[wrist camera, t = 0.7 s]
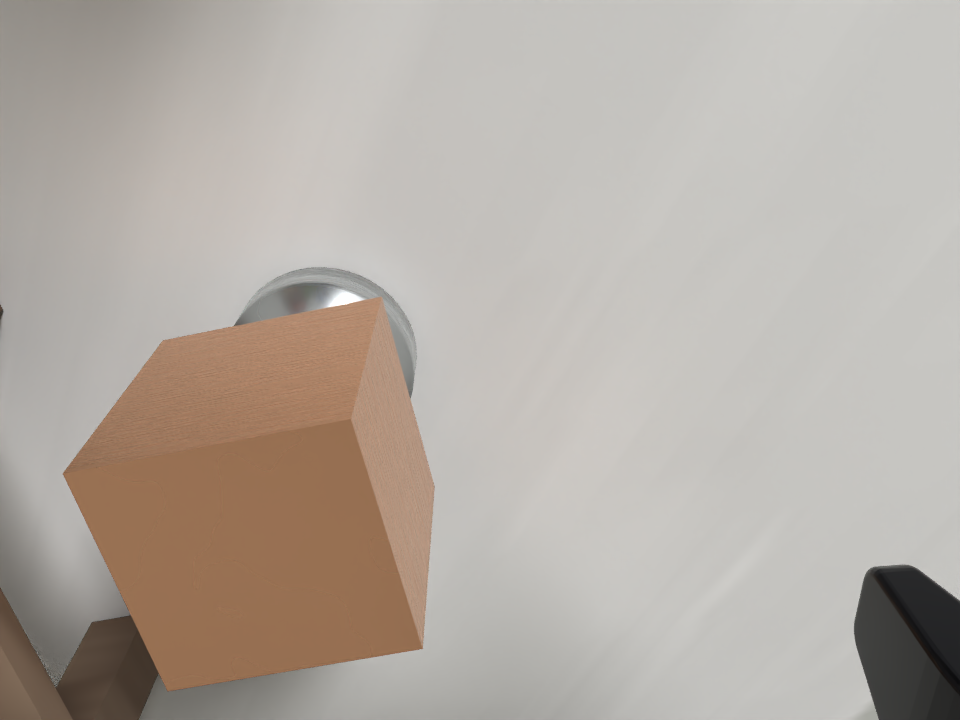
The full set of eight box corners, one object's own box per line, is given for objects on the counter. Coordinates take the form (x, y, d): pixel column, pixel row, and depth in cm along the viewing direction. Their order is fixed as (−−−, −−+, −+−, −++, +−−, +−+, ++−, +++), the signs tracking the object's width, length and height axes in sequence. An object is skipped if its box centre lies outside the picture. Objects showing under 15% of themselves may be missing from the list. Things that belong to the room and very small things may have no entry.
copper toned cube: (439, 416, 23) (422, 648, 16) (264, 449, 23) (167, 691, 16) (394, 245, 21) (351, 418, 14) (205, 284, 21) (63, 473, 14)
